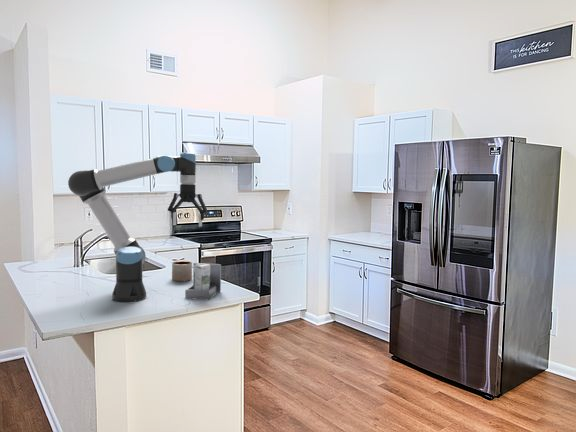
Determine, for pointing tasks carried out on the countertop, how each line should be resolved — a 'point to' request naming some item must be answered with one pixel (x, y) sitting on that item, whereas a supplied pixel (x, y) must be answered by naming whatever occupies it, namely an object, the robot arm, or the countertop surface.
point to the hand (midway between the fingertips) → (187, 225)
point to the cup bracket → (214, 284)
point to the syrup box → (201, 277)
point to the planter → (181, 271)
